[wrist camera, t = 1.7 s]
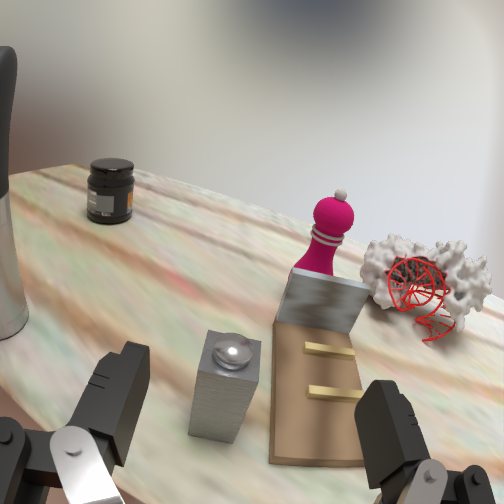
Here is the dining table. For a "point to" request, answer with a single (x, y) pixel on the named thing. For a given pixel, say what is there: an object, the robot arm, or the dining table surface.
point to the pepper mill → (327, 233)
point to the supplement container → (110, 190)
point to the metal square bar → (224, 385)
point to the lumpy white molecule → (426, 277)
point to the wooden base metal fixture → (316, 372)
